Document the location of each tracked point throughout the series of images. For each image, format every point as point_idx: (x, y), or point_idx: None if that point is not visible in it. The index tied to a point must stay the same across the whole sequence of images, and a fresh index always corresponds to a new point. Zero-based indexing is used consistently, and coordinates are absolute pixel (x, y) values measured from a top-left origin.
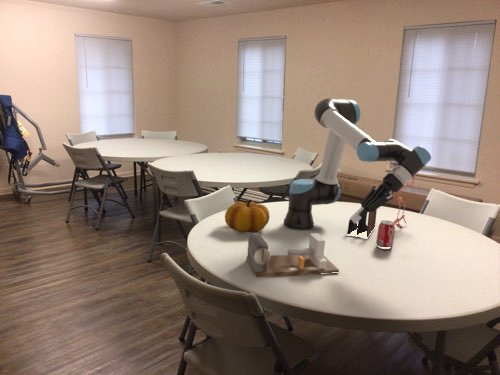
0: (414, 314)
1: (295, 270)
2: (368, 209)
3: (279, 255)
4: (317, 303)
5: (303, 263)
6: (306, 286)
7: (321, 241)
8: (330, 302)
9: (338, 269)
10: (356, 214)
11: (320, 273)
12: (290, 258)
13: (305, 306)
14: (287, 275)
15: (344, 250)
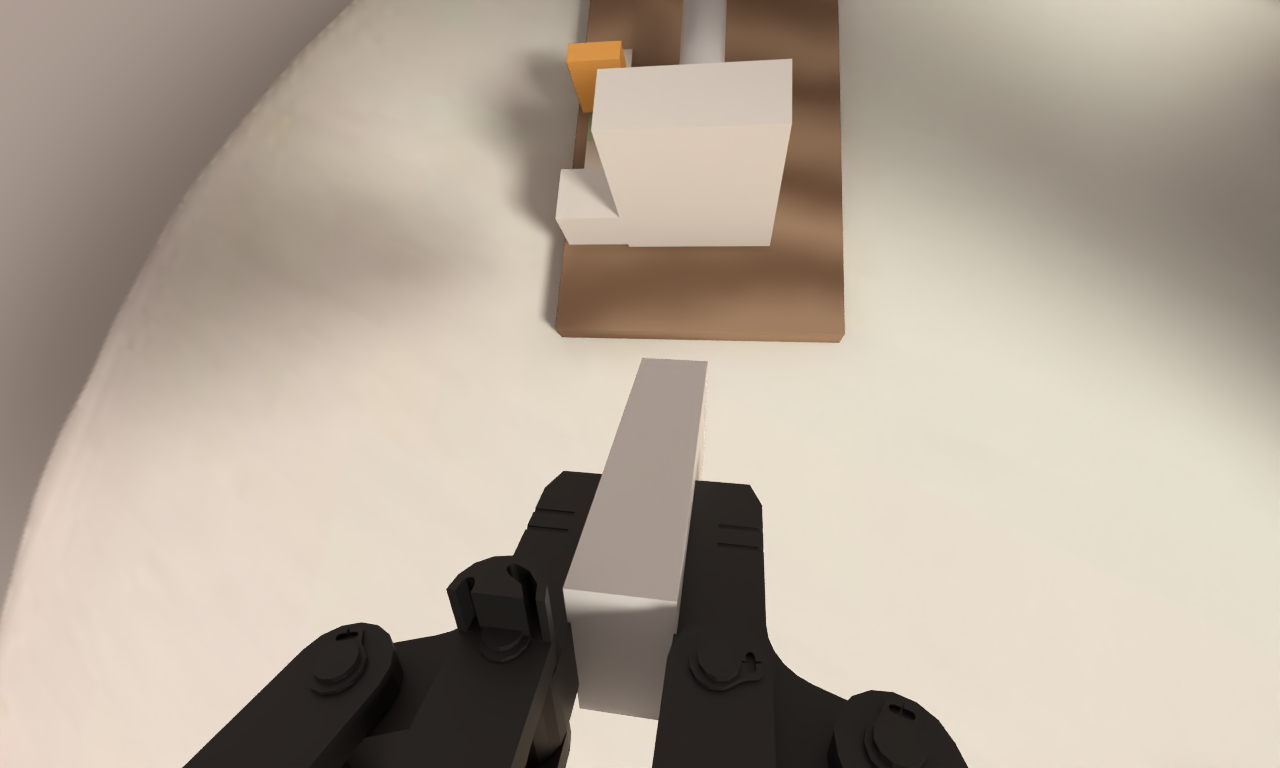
0: (67, 497)
1: None
2: (402, 651)
3: (835, 45)
4: (302, 111)
5: (574, 82)
6: (457, 113)
7: (595, 106)
8: (291, 166)
9: (562, 328)
10: (621, 428)
11: None
12: None
13: (298, 60)
14: None
15: (995, 604)
